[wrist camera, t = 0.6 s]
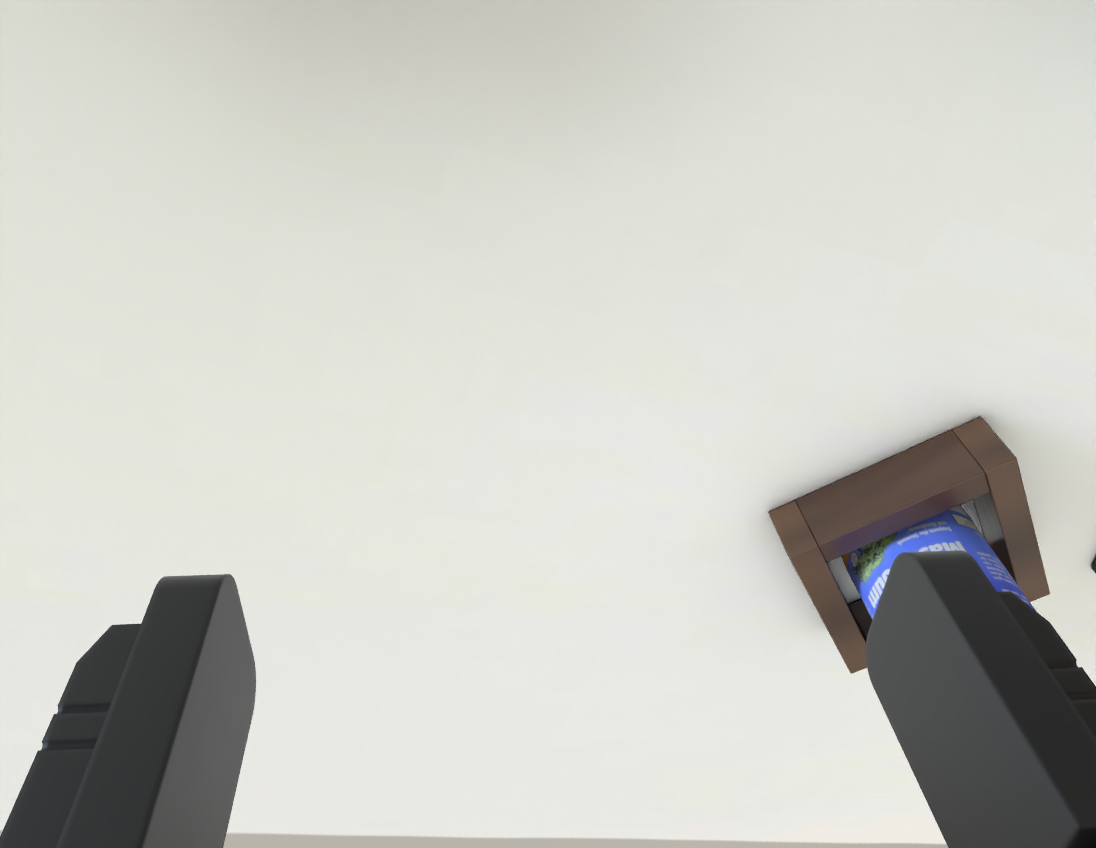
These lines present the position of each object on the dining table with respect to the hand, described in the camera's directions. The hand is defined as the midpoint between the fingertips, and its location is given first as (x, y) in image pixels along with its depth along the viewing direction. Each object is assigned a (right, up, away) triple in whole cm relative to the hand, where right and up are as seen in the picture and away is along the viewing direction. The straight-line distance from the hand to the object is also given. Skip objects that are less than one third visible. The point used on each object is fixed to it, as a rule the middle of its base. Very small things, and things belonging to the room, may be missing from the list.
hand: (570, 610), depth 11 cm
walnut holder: (+15, -2, +27) cm, 31 cm away
